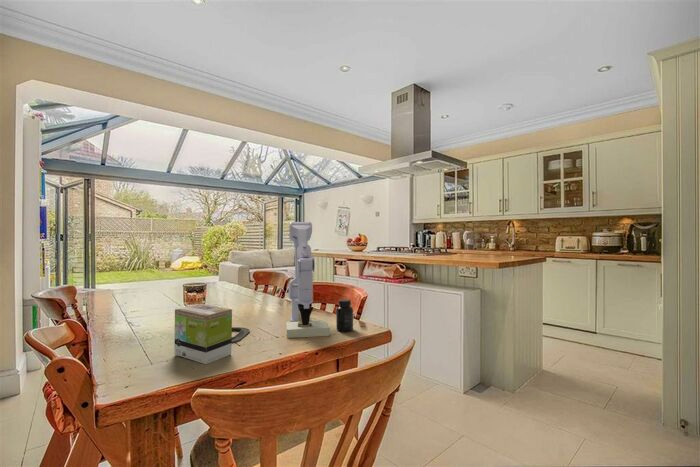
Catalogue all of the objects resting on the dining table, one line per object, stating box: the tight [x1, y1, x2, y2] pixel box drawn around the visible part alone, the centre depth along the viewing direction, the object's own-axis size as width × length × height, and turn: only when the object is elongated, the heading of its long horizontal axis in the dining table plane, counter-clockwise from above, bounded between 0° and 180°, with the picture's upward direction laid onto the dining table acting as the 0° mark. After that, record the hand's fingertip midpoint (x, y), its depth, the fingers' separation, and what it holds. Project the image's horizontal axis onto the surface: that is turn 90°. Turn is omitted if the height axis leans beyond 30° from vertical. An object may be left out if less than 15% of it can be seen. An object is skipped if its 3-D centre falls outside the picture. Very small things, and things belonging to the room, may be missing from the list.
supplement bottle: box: [335, 298, 354, 333], centre depth 133 cm, size 7×7×12 cm
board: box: [285, 320, 331, 339], centre depth 129 cm, size 11×16×3 cm
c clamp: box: [232, 326, 251, 344], centre depth 122 cm, size 20×17×3 cm
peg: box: [297, 310, 309, 327], centre depth 129 cm, size 4×4×8 cm
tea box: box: [173, 303, 233, 365], centre depth 103 cm, size 15×10×15 cm, turn 62°
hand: (305, 323), depth 129 cm, fingers closed on peg, 4 cm apart
